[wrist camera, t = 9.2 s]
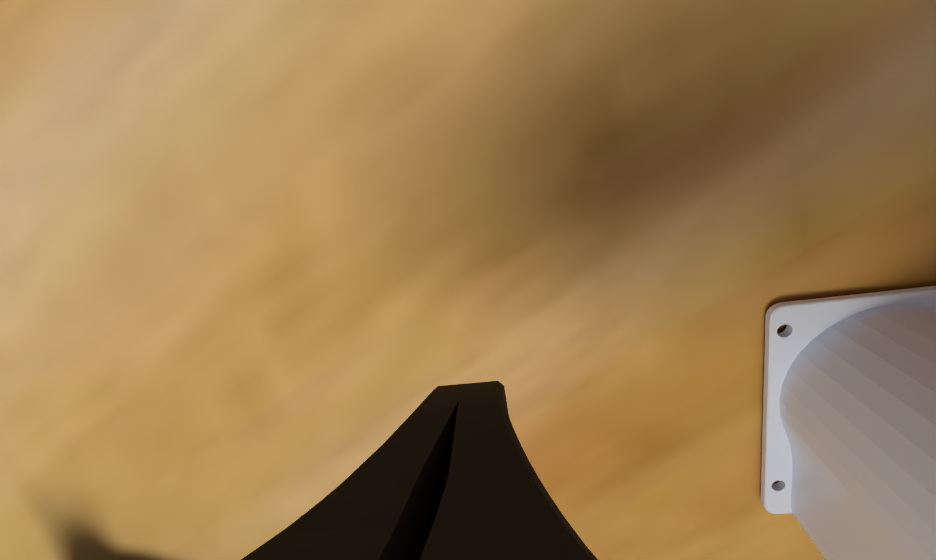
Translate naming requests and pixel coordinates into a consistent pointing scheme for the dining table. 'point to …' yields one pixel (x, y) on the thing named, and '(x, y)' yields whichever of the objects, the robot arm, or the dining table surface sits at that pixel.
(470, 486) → the robot arm
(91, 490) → the dining table surface
